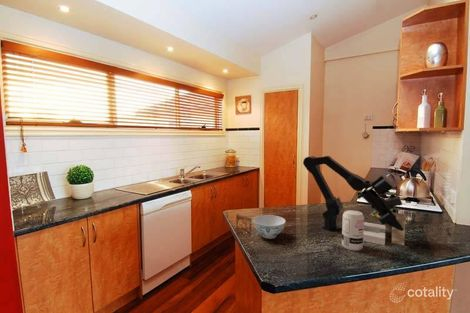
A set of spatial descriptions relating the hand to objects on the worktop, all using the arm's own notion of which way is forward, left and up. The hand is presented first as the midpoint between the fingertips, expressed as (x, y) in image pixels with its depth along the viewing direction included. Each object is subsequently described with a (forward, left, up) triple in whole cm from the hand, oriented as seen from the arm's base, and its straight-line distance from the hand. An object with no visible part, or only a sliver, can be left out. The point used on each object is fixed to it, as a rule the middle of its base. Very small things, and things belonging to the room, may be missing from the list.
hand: (402, 228), depth 110 cm
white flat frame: (-3, +12, -7) cm, 14 cm away
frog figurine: (+28, +19, -7) cm, 35 cm away
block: (-1, +1, -7) cm, 7 cm away
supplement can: (-22, +10, -7) cm, 25 cm away
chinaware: (-43, +39, -7) cm, 58 cm away
